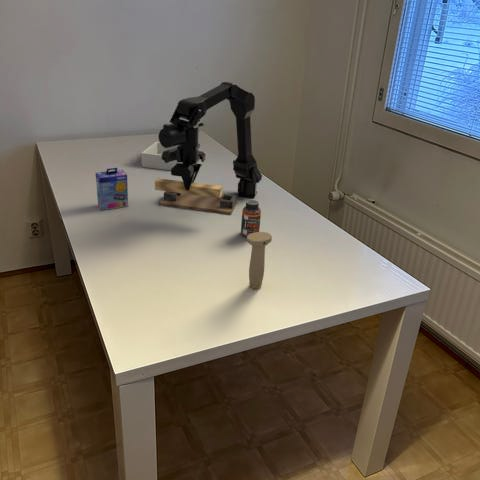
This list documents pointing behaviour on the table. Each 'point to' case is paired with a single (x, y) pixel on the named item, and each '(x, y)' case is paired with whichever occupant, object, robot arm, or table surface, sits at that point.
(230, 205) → the endcap frame
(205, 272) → the table surface
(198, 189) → the slat
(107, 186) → the ink cartridge box
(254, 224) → the supplement bottle
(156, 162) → the tray
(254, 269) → the handle
